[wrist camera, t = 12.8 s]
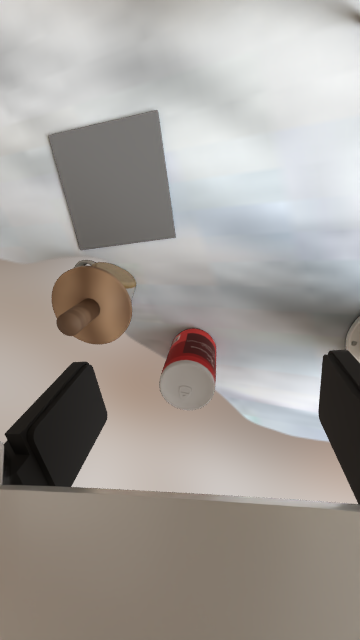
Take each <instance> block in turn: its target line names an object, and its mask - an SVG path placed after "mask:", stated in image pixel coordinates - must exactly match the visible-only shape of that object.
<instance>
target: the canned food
mask: <svg viewBox="0 0 360 640" xmlns="http://www.w3.org/2000/svg"><path fill="white" fill-rule="evenodd" d="M215 381H216V346H215V343H214V341H213V339H212V337H211V336H210V335H209V334H208V333H206V332H205V331H203V330H200V329H195V328H192V329H187V330H184V331H182V332H181V333H179V334H178V335H177V336H176V337H175V339H174V341H173V343H172V345H171V348H170V351H169V354H168V356H167V359H166V362H165V365H164V367H163V370H162V373H161V377H160V382H159V388H160V392H161V394H162V396H163V397H164V399H165V400H166V401H167V402H168V403H169V404H171V405H172V406H174V407H176V408H179V409H182V410H196V409H199V408H202V407H204V406H205V405H207V404H208V403H209V402H210V400H211V399H212V397H213V395H214V391H215Z"/></svg>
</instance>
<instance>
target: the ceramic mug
mask: <svg viewBox="0 0 360 640" xmlns="http://www.w3.org/2000/svg"><path fill="white" fill-rule="evenodd" d="M86 264H90V265H91V266H94V267H98V268H101V269H104V270H106V271H108V272H109V273H111V274H112V275H114V276H115V277H116V278H117V279H118V280H119V281H120V282H121V283H122V284H123V286H124V287H125V289H126V290H127V292H128V294H129V296H130V300H131V299H132V297H133V294H134V292H135V288H136V281H135V279H134V277H133V276H132V275H131V274H130V273H128V272H127V271H126V270H124V269H122V268H120V267H118V266H116V265H113V264H109V263H105V262H98V263H96V262H94V261H90V260H82V261H79V262H78V263H77V264H76V265H75V267H74V268H76V267H80V266H85V265H86Z"/></svg>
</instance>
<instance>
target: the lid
mask: <svg viewBox="0 0 360 640" xmlns="http://www.w3.org/2000/svg"><path fill="white" fill-rule="evenodd" d="M52 306H53V310H54V313H55V315H56V317H57V326H58V328H59V330H60V331H61V332H62V333H63V334H65V335H68V336H74V337H76V338H77V339H79V340H81V341H84V342H87V343H91V344H106V343H110V342H112V341H114V340H116V339H117V338H119V337H120V336H121V335H122V334H123V333H124V332H125V330H126V329H127V327H128V326H129V324H130V321H131V317H132V304H131V300H130V296H129V294H128V292H127V290H126V289H125V287H124V286H123V284H122V283H121V282H120V281H119V280H118V279H117V278H116V277H115V276H114V275H112V274H111V273H109V272H108V271H106V270H104V269H101V268H98V267H94V266H80V267H76V268H73V269H71V270H68V271H67V272H65V273H63V274H62V275H61V276H60V277H59V278H58V279H57V281H56V283H55V285H54V287H53V291H52Z"/></svg>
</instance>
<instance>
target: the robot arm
mask: <svg viewBox="0 0 360 640" xmlns="http://www.w3.org/2000/svg"><path fill="white" fill-rule="evenodd" d="M319 419H320V422H321V424H322V426H323V428H324V430H325V433H326V435H327V437H328V439H329V441H330V443H331V446H332V448H333V450H334V452H335V454H336V456H337V459H338V461H339V463H340V465H341V467H342V469H343V472H344V474H345V476H346V478H347V480H348V482H349V484H350V487H351V489H352V491H353V493H354V495H355V497H356V499H357V502H358V504H346V503H333V502H321V501H307V500H294V499H277V498H260V497H244V496H227V495H211V494H194V493H176V492H158V491H156V492H155V491H139V490H120V489H100V488H99V489H98V488H79V487H71V486H72V484H73V482H74V480H75V478H76V477H77V475H78V473H79V471H80V469H81V467H82V465H83V463H84V461H85V460H86V458H87V456H88V454H89V452H90V450H91V449H92V447H93V445H94V443H95V441H96V439H97V437H98V436H99V434H100V432H101V430H102V428H103V426H104V424H105V422H106V420H107V411H106V408H105V405H104V402H103V398H102V395H101V392H100V389H99V385H98V382H97V379H96V376H95V373H94V370H93V367H92V366H91V365H89V363H88V362H73V363H72V364H71V365H70V366H69V367H68V368H67V369H66V370H65V371H64V372H63V373H62V374H61V375H60V376H59V377H58V378H57V380H56V381H55V382H54V383H53V384H52V385H51V386H50V387H49V388H48V389H47V390H46V391H45V392H44V393H43V394H42V395H41V396H40V397H39V398H38V399H37V400H36V402H35V403H34V404H33V405H32V406H31V407H30V408H29V409H28V410H27V411H26V412H25V413H24V414H23V415H22V416H21V417H20V418H19V419H18V420H17V421H16V422H15V424H14V425H13V426H12V427H11V428H10V429H9V430H8V431H7V432H6V433H5V436H6V437H7V442H6V443H5V444H3V443H2V442H1V441H0V640H360V316H359V317H358V318H357V319H356V320H355V321H354V323H353V324H352V326H351V327H350V329H349V331H348V334H347V337H346V350H333V351H329V353H328V355H324V356H323V363H322V375H321V387H320V399H319Z"/></svg>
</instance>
